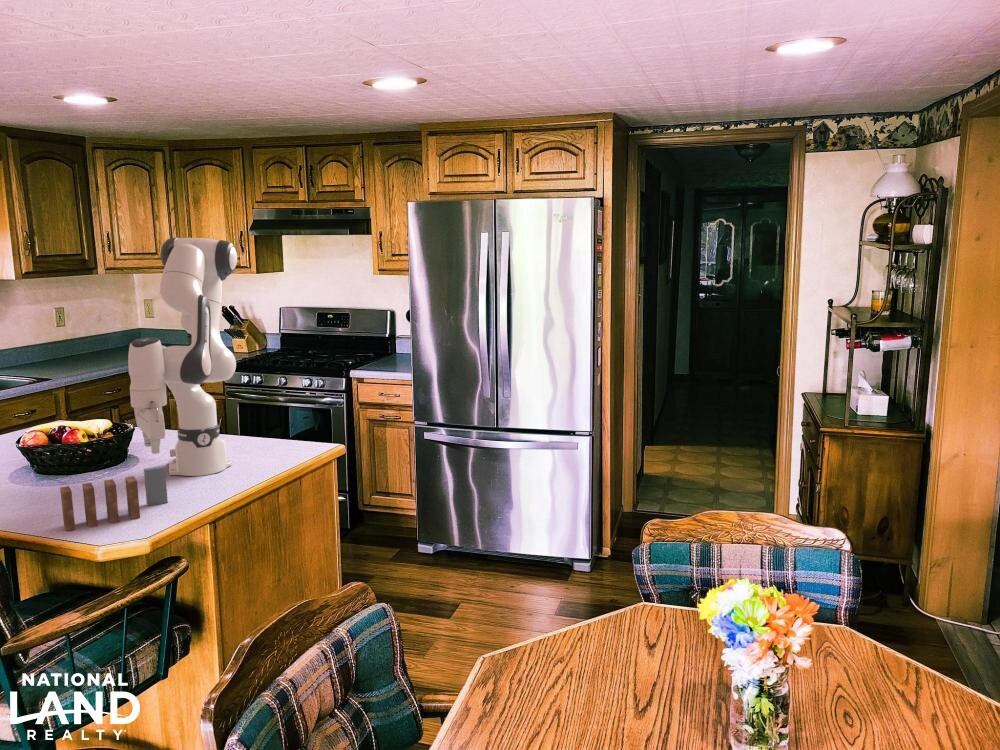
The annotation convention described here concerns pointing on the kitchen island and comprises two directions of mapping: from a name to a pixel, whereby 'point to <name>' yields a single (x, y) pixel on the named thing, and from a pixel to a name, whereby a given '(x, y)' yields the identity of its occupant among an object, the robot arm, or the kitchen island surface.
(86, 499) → the domino
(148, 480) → the slate domino
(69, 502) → the domino
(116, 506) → the domino
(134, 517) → the domino
